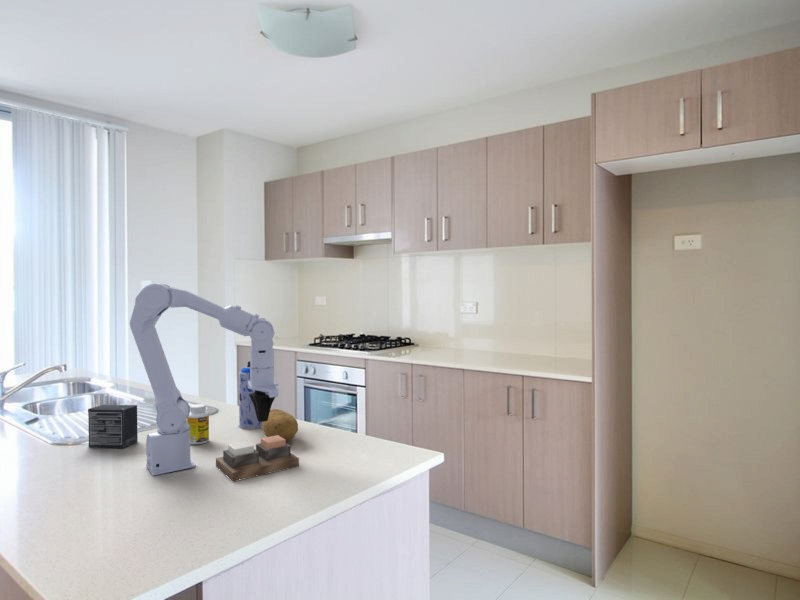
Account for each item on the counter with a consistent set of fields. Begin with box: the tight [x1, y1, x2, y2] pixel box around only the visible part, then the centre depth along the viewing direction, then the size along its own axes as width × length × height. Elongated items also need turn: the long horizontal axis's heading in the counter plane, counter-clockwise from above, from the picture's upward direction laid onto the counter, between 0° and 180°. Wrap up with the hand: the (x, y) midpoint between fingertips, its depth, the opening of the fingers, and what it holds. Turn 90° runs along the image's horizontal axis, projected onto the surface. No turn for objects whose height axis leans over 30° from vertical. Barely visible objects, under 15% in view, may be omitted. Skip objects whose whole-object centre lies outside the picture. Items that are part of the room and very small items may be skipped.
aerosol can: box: [238, 360, 262, 430], centre depth 156 cm, size 8×8×20 cm
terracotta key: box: [260, 435, 287, 450], centre depth 124 cm, size 4×4×2 cm
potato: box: [261, 408, 299, 442], centre depth 142 cm, size 10×14×8 cm
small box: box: [87, 404, 138, 449], centre depth 138 cm, size 11×6×10 cm, turn 84°
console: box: [215, 442, 300, 482], centre depth 121 cm, size 16×12×4 cm
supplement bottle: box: [186, 403, 210, 445], centre depth 140 cm, size 6×6×10 cm
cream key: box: [227, 440, 255, 457], centre depth 119 cm, size 4×4×2 cm
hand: (262, 421), depth 127 cm, fingers closed
